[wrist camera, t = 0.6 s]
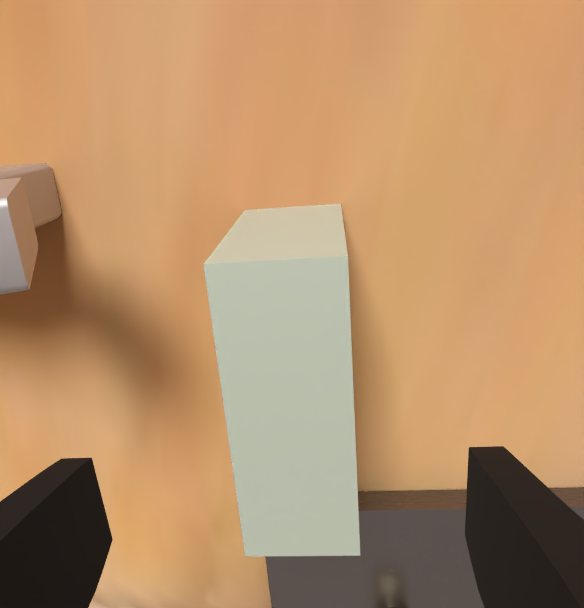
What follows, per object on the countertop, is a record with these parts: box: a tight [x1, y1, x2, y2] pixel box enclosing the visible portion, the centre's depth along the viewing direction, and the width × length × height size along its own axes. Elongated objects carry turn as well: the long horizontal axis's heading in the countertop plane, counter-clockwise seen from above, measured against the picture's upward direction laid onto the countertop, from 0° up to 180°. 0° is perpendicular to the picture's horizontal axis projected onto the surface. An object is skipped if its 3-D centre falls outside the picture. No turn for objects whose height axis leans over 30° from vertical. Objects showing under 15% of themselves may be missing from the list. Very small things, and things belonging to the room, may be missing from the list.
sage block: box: [204, 204, 360, 557], centre depth 15 cm, size 3×8×6 cm, turn 4°
